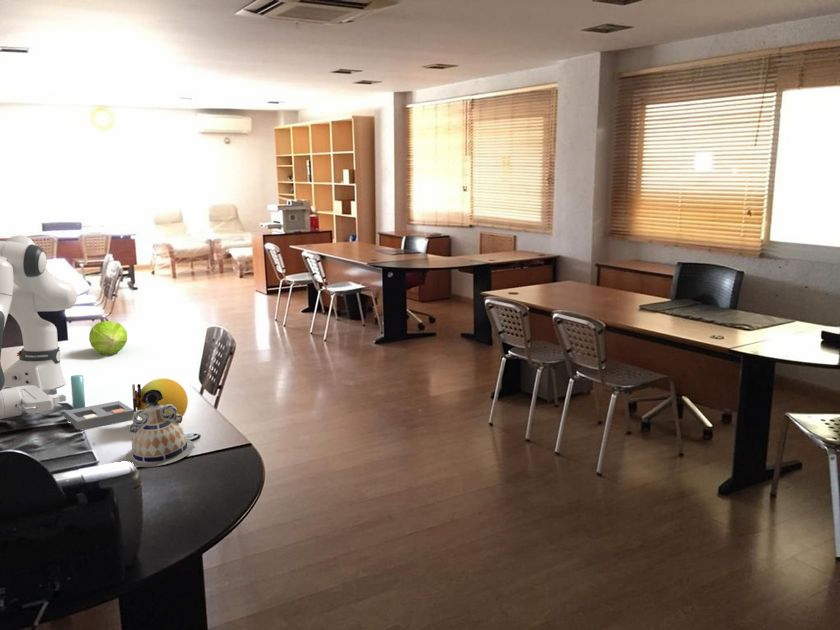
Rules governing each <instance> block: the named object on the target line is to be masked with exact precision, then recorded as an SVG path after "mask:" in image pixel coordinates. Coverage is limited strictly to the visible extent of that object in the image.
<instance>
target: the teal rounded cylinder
mask: <svg viewBox="0 0 840 630" xmlns="http://www.w3.org/2000/svg"><path fill="white" fill-rule="evenodd" d="M70 384H71V398H72V409H78V408H83V407H86V399H85V387H84V386H85V385H84V384H85V383H84V374H83V375H82V374H75V375H71V376H70Z"/></svg>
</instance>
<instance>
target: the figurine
mask: <svg viewBox="0 0 840 630" xmlns="http://www.w3.org/2000/svg"><path fill="white" fill-rule="evenodd" d="M161 399H163V397H162V394H161V392H160V391H159V390H154V389H152V390H150V391H147V392H146V393H145V394H144V395H143V398H142V402H143V403H147V404H149V405H148V406H147V407H146V409H145V410H138V411H137V409H138V407H137V408H136V412H134V414H133V418H132V420H131V422H132V423H131V424H130V425H129V427H128V432H129V434H133V437H132V440H131V448H130V450H129V451H127V453H126V454H125V456H124V460H125V462H128V461H130V462H133V463H134V464H133V463H132V464H133V465H135V466H136V467H137V466H138V467H140V468H150V467H151V468H152V467H159V466H163V465H164V466H165V465H167V464H171V463H174V462H177V461H179V460H181V459H183V458H184V457H187V456H188V455H190V454H191V453H192V452H193V449H194V448H195V444H194V442H193V441H192V440H190V439H188V438H187V437H186V434H185V431H184V429H183V427H182V426H180V424H181V423H182V421H183V417H184V416H183V417H182V416H181V415H180V414H177V409H176V407H175V406H173V405H171V404H167V405H165V406H162V405H160V404H158V403H157V402H158V401H160V400H161ZM147 404H144V405H147ZM168 409H169V410H171V411H168V413H170V414H166V411H167V410H168ZM139 415H140V416H143V418H144V419H142V418H141V417H139ZM138 418H140V419H138ZM130 462H129V463H130Z"/></svg>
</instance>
